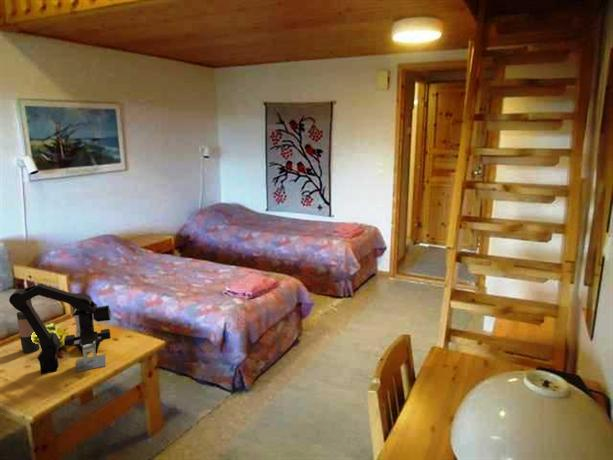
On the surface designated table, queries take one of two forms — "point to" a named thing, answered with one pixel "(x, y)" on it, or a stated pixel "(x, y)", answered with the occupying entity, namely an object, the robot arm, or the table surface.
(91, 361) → the mat
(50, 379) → the table surface
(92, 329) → the robot arm
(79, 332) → the plastic bottle
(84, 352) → the notched white block
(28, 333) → the travel mug
